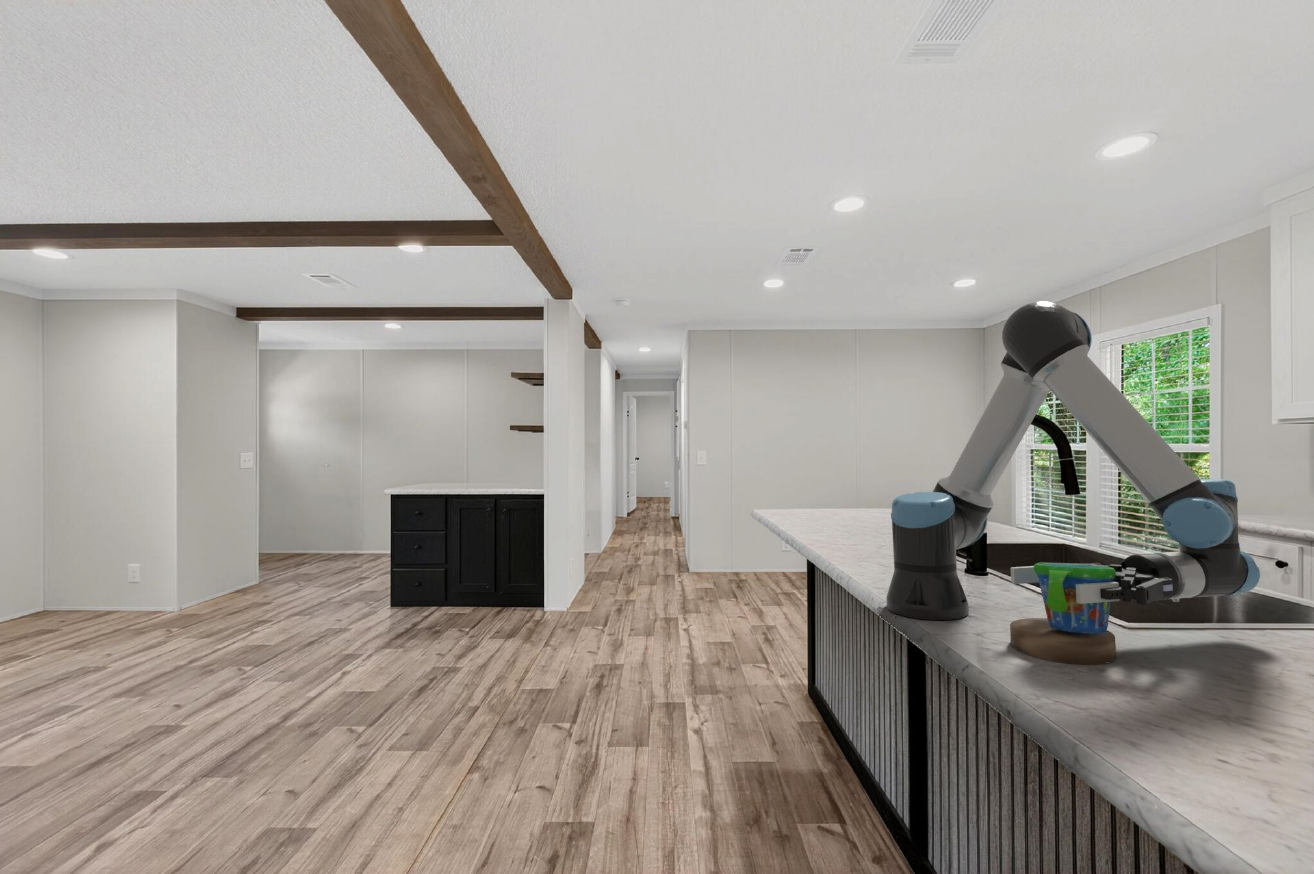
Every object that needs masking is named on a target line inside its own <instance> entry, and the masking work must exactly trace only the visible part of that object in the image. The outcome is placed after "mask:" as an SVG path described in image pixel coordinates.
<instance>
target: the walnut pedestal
mask: <svg viewBox="0 0 1314 874" xmlns="http://www.w3.org/2000/svg"><path fill="white" fill-rule="evenodd" d="M1009 631H1010V632H1009V633H1010V635H1009V636H1010V646H1011V647H1012V648H1013V649H1015V650H1016V651H1019V652H1021V653H1023V654H1025V655H1028V656H1031V657H1034V658H1037V659H1042V660H1046V661H1051V662H1055V663H1062V664H1072V665H1085V664H1086V665H1088V664H1089V665H1091V664H1093V666H1094V665H1101V664H1102V665H1103V664H1104V665H1105V664H1109V663H1112V662H1113V660H1114V661H1115V660H1116V659H1117V648H1116V636H1115V634H1114V633H1113V632H1112V631H1109V630H1108V629H1107V630H1106V632H1104V633H1101V634H1081V633H1072V632H1067V631H1062V630H1057V629H1054V628H1051V627H1050V625H1049V622H1048V619H1047V617H1045V618H1043V617H1035V618H1034V617H1032V618H1031V617H1030V618H1028V617H1027V618H1022V619H1016V620H1014V621H1012V622H1010V624H1009ZM1108 662H1109V663H1108Z"/></svg>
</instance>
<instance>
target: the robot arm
mask: <svg viewBox="0 0 1314 874" xmlns="http://www.w3.org/2000/svg"><path fill="white" fill-rule="evenodd" d="M1001 339H1002V344H1003V347H1004V349H1005V351H1006V353H1005V355H1004V357H1003V359H1002V361H1001V363H1000V366H1001V368H1002V371H1003V372H1002V373H1003V375H1002V378H1001V380H1000V381H999V384H998V385H997V388H995V391H994V392H993V395H992V396H991V398H990V400H989V402H988V404H987V405H986V408H985V409H984V411H983V412H982V413H983V414H982V415H981V416H980V418H979V421H978V423H977V424H976V426H975V428H974V429H973V432H972V434H971V436H970V438H969V440H968V441H967V443H966V444H965V447H964V449H963V450H962V452H961V454H960V455H959V458H958V460H957V462H956V464H955V465H954V467H953V468H952V471H951V473H950V474H949V475H948V476H947V477H943V478H939V479H938V481H937V483H936V484H935V487H934V489H932V491H924V492H923V491H921V492H920V491H919V492H918V491H917V492H913V493H905V494H901V495H899V496H897V497H896V498H894V500H893V501H892V503H891V512H890V518H891V530H892V531H891V532H892V546H893V547H892V552H893V575H892V578H891V580H890V583H889V587H888V591H887V594H886V598H885V600H886V609H887V610H888V611H890V612H891V613H894V614H896V615H899V616H904V617H907V618H913V619H920V620H932V621H948V620H949V621H950V620H958V619H961V618H962V619H963V618H965V617H967V616H968V615H969V614H970V613H969V601H968V598H967V596H966V593H965V591H964V588H963V586H962V583H961V580H960V579H959V575H958V570H957V569H958V568H957V550H960V549H962V548H966V547H969V546H971V545H974V544H975V542H977V541H978V540H980V539H981V537H982V536H983V535H984V533H985V531H986V529H987V526H988V516H989V514H990V513H991V511H992V509H993V507H994V501H993V499H992V496H991V494H992V492H993V491H994V489H995V487H996V485H997V483H998V481H1000V478H1001V477H1002V475H1003V473H1004V471H1005V470H1006V467H1007V466H1008V465H1009V463H1010V461H1011V459H1012V458H1013V455H1014V454H1015V452H1016V450H1017V449H1018V447H1019V445H1020V443H1021V442H1022V440H1023V438H1024V436H1025V434H1026V432H1027V431H1028V430H1029V427H1030V426H1031V424H1032V422H1033V421H1034V418H1035V417H1036V415H1037V414H1038V411H1039V410H1040V408H1041V406H1042V405H1043V403H1044V401H1045V399H1046V397H1047V396H1048V394H1049V392H1052V393H1053V395H1054V396H1055V397H1056V399H1058V400H1059V402H1060V403H1061V404H1062V405H1063V407H1064V408H1066V410H1067V411H1068V413H1070V415H1072V417H1073V418H1074V419H1075V420H1076V421H1077V422H1078V424H1079V425H1080V426H1081V427H1082V428H1083V430H1084V431H1085V432H1086V433H1087V434H1088V435H1089V437H1090V438H1091V439H1092V440H1093V441H1094V442H1095V443H1096V445H1097V446H1098V447H1099V448H1100V449H1101V450H1102V451H1103V453H1104V454H1105V456H1106V457H1108V458H1109V460H1110V461H1111V462H1112V463H1113V464H1114V465H1115V467H1116V468H1117V469H1118V470H1119V471H1120V472H1121V474H1122V476H1124V477H1125V478H1126V480H1127V481H1128V482H1129V483H1130V484H1131V486H1133V488H1134V489H1135V490H1136V492H1137V493H1138V494H1139V495H1140V496H1141V497H1142V498H1143V499H1144V500H1145V501H1146V503H1147V504H1148V505H1149V507H1150V508H1151V509H1152V510H1153V512H1154V513H1155V515H1157V517H1158V518H1159V519H1160V520H1161V522H1162V525H1163V527H1164V530H1165V532H1166V534H1167V535H1168V536H1169V537H1170V538H1171V539H1172V540H1173V541H1174V542H1176V543H1178V546H1179V547H1178V548H1179V550H1178V551H1167V552H1165V551H1164V552H1154V553H1140V554H1139V553H1137V554H1131V555H1129V556H1127V557H1126V558H1124V560H1122V563H1121V564H1112V563H1111V564H1108V565H1102V564H1101V563H1099V562H1095V563H1094V562H1093V563H1076V562H1075V563H1070V562H1066V563H1065V562H1043V561H1040V562H1037V563H1036V564H1038V563H1043V564H1071V565H1089V566H1102V567H1111V568H1114V569H1115V571H1116V575H1115V578H1114V580H1113V581H1112V582H1104V583H1090V584H1076V601H1077V603H1080V604H1084V603H1098V602H1110V603H1112V602H1120V600H1121V601H1123V602H1124V603H1130V602H1131V603H1132V602H1133V600H1135V601H1136V603H1137V604H1139V605H1141V606H1142V605H1143V606H1144V605H1149V604H1152V602H1155V601H1166V600H1172V602H1175V603H1179V602H1180V599H1190V598H1204V597H1206V598H1207V597H1229V596H1235V595H1236V596H1237V595H1240V594H1245V593H1248V592H1251V591H1252V590H1253V589H1255V588H1256V587H1257V585H1258V584H1259V582H1260V578H1261V572H1260V568H1259V567H1258V566H1257V564H1256V562H1255V559H1254V558H1253V557H1252V556H1251V555H1249V554H1248V553H1246V552H1245V551H1242V550H1241V546H1240V542H1239V540H1240V539H1239V516H1238V515H1239V513H1238V502H1239V501H1238V500H1239V498H1238V496H1237V490H1236V489H1237V487H1236V484H1235V483H1234V482H1233V481H1231V480H1228V479H1220V478H1218V479H1214V478H1205V479H1204V478H1199V477H1198V476H1197V474H1195V472H1194V471H1193V470H1192V469H1191V468H1190V467H1189V466H1188V465H1187V463H1186V462H1185V461H1184V460H1183V459H1182V458H1181V457H1180V455H1178V454H1177V453H1176V452H1175V451H1174V449H1173V448H1172V447H1171V446H1170V445H1169V444H1168V443H1167V442H1166V440H1165V439H1164V438H1163V437H1162V436H1161V435H1160V434H1159V432H1157V430H1156V429H1154V427H1152V425H1151V424H1150V423H1149V422H1148V420H1147V419H1145V417H1144V416H1143V415H1142V414H1141V413H1140V412H1139V411H1138V410H1137V409H1136V407H1135V406H1134V405H1133V404H1132V403H1131V402H1130V401H1129V400H1128V399H1127V398H1126V396H1125V395H1124V394H1123V393H1122V392H1121V391H1120V390H1119V389H1118V388H1117V386H1116V385H1114V383H1113V382H1112V381H1111V380H1110V379H1109V378H1108V377H1107V376H1106V374H1105V373H1104V372H1103V371H1102V370H1101V369H1100V368H1099V366H1097V364H1096V363H1094V361H1093V360H1092V359H1091V358H1090V357H1089V356H1088V354H1089V352H1090V350H1091V346H1092V339H1093V337H1092V332H1091V329H1090V327H1089V325H1088V323H1087V322H1086V321H1085V319H1084V318H1083V317H1082V316H1080V315H1079V314H1078V313H1076V312H1073V311H1071V310H1069V309H1067V308H1065V307H1064V306H1062V305H1060V304H1057V303H1055V302H1051V301H1035V302H1034V301H1033V302H1030V303H1027V304H1024V305H1022V306H1021V307H1019V308H1018V309H1016V310H1015V311H1013V312H1012V313H1011V315H1009V316H1008V317H1007V320H1006V321H1005V323H1004V325H1003V328H1002V334H1001ZM1010 582H1011V584H1013V585H1021V584H1039V583H1040V582H1039V579H1038V576H1037V574H1036V573H1035V571H1034V565H1030V566H1016V567H1015V566H1014V567H1013V566H1012V567H1010Z"/></svg>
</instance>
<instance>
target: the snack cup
mask: <svg viewBox="0 0 1314 874" xmlns="http://www.w3.org/2000/svg"><path fill="white" fill-rule="evenodd" d="M1037 563H1038V562H1037ZM1037 563H1034V565H1033V566H1034V571H1035V573H1036V574H1037V576H1038V579H1039V583H1038V584H1039V587H1040V591H1041V596H1042V601H1043V604H1044V608H1045V609H1044V610H1045V613H1046V618H1047V619H1048V622H1049V625H1050V627H1051V628H1054V629H1057V630H1062V631H1067V632H1072V633H1081V634H1101V633H1104V632H1106V630H1108V627H1109V618H1110V609H1111V602H1098V603H1084V604H1080V603H1077V601H1076V584H1090V583H1104V582H1112V581H1113V580H1114V578H1115V575H1116V571H1115V569H1114V568H1111V567H1102V566H1089V565H1071V564H1043V563H1044V562H1043V563H1038V564H1037Z"/></svg>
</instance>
